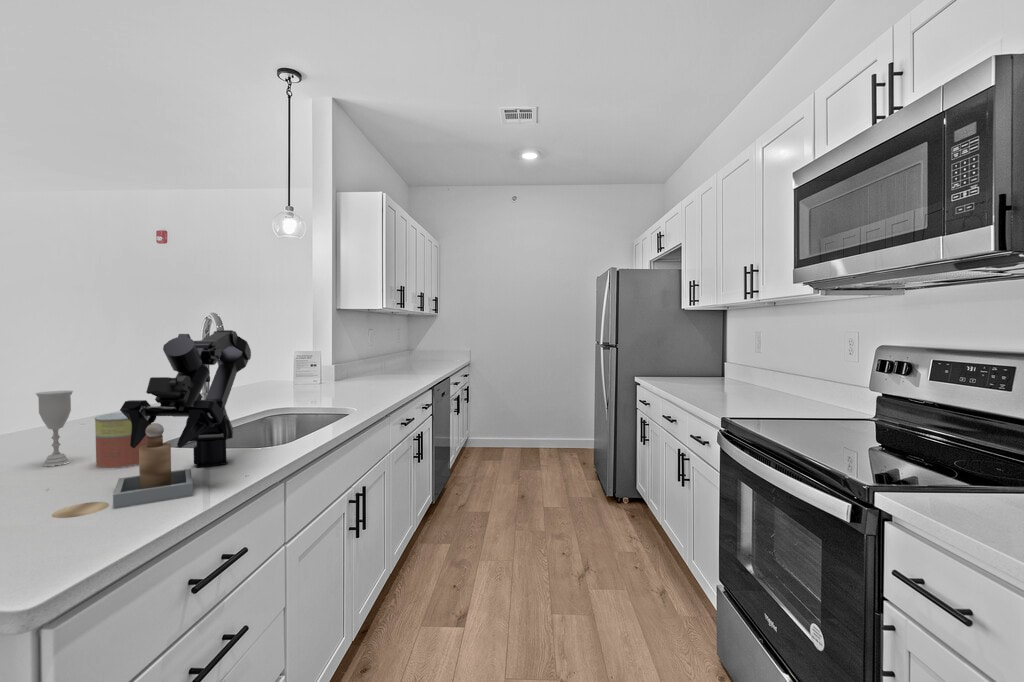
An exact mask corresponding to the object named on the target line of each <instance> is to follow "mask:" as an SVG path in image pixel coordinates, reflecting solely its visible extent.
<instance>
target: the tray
mask: <svg viewBox="0 0 1024 682" xmlns="http://www.w3.org/2000/svg"><path fill="white" fill-rule="evenodd" d="M193 487H194V483H193V477H192V470H191V468H186V469H185V468H184V469H179V470H178V469H177V470H171V485H167V486H161V487H154V488H147V489H140V475H134V476H125V477H118V479H117V483H116V485H115V488H114V491H113V494H112V504H113V505H112V507H113V510H114V509H119V508H125V507H126V508H127V507H132V506H138V505H145V504H149V503H150V504H151V503H157V502H161V501H162V502H164V501H168V500H169V501H170V500H174V499H181V498H186V497H187V498H189V497H193V496H194V490H193V489H194V488H193Z"/></svg>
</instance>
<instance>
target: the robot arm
mask: <svg viewBox="0 0 1024 682" xmlns="http://www.w3.org/2000/svg"><path fill="white" fill-rule="evenodd" d="M249 345H250V344H249V343H248V341H247V340H245V339H243V337H240V336H238V333H237V331H234V330H231V329H230V330H229V329H227V330H223V329H222V330H221V329H219V330H215V331H214V332H213V333H211V334H210V335H208V336H207V337H204V338H203V339H200V340H193V339H192V338H191V335H190V334H189V333H179V334H178V336H177V337H174V338H172V339H170V340H168V341H167V342H166V343H164V345H163V348H162V349H163V353H164V355H165V356H166V358H167V360H168V362H169V364H170V366H171V368H172V370H173V371H175V372H177V374H176V376H175V377H169V376H168V377H166V376H165V377H164V376H163V377H159V376H158V377H157V376H156V377H153V376H152V377H149V381H148V385H147V388H146V391H145V393H147V394H148V395H149V394H150V395H152V396H155V398H154V400H155V402H156V403H158V404H160V405H157V406H156V405H151V404H150V403H149V402H148V401H147V400H146V399H145V400H144V399H143V400H142V399H136V400H135V399H133V400H131V399H129V400H125V401H124V403H123V404H122V405H121V407H120V409H119V411H120V413H123V414H124V415H125V416H126V417H127V418H128V419H129V420H130V421H131V423H132V431H131V442H130V446H131V447H132V448H135V447H136V446H137V445H138V444H139V443H140V442H141V441H142V439H143V438H144V437H145V436H146V432H145V431H146V428H147V427H148V426H149V425H150V424H153V423H155V421H156V419H157V417H174V418H177V417H178V418H180V417H182V418H183V417H186V422H185V426H184V428H183V430H182V432H181V434H180V436H179V438H178V441H177V445H176V446H177V447H178V448H182V447H184V446H186V445H187V444H188V443H191V442H195V445H193V448H192V449H193V464H194V465H195V466H196V469H197V468H206V467H207V468H208V467H213V466H214V465H215V466H220V465H219V464H222V465H227V464H228V460H227V441H228V440H230V439H233V438H234V437H233V435H234V434H233V433H234V431H233V429H234V427H233V425H232V423H231V419H230V418H229V416H228V413H227V409H226V404H227V402H228V399H229V396H230V393H231V391H232V389H233V385H234V381H235V379H236V376H237V374H238V372H240V371H242V370H243V369H245V368H246V367H247V365H248V363H249V361H250V360H251V359H252V358H251V357H252V350H251V348H250V346H249ZM219 359H220V360H219ZM216 364H217V366H218V367H217V369H216V371H215V374H214V377H213V378H212V381H211V376H210V370H209V368H208V366H214V365H215V366H216ZM210 382H211V384H210V386H209V389H208V391H207V393H206V394H207V395H206V397H205V399H202V398H203V395H202V394H201V392H202V389H203V388H204V385H205V384H206V383H210ZM226 463H227V464H226Z"/></svg>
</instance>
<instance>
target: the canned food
mask: <svg viewBox="0 0 1024 682" xmlns="http://www.w3.org/2000/svg"><path fill="white" fill-rule="evenodd" d="M94 423H95V424H94V427H95V428H94V429H95V432H94V433H95V462H96V463H95V468H97V467H99V468H98V469H100V468H115V469H123V468H122V467H125V468H129V466H131V467H135V465H136V466H139V447H141V446H144V445H147V435H146V436H145V437H144V438H143V439H142V441H141V442H140V443H139V444H138V445H137V446H136V447H135V448H132V447H131V446H130V442H131V431H132V423H131V421H130V420H129V419H128V418H127V417H126V416H125V415H124V414H123V413H122V412H116V413H108V414H103V415H98V416H96V417H94Z"/></svg>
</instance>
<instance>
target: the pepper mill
mask: <svg viewBox="0 0 1024 682" xmlns="http://www.w3.org/2000/svg"><path fill="white" fill-rule="evenodd" d="M164 430H165V429H164V426H163V425H162V424H161V423H157V422H153V423H151V424H150V425H149V426H148V427H147V428H146V431H145V432H146V435H147V445H144V446H141V447H139V465H138V466H139V476H140V489H147V488H154V487H161V486H167V485H171V471H172V451H171V449H172V447H171V444H172V443H168V442H164V441H163V440H164V439H163V438H164V436H163V434H164Z"/></svg>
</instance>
